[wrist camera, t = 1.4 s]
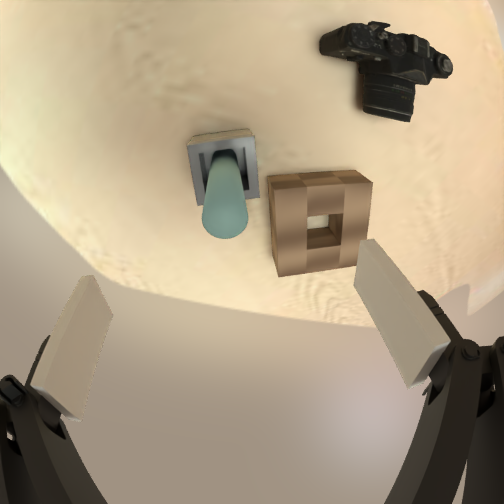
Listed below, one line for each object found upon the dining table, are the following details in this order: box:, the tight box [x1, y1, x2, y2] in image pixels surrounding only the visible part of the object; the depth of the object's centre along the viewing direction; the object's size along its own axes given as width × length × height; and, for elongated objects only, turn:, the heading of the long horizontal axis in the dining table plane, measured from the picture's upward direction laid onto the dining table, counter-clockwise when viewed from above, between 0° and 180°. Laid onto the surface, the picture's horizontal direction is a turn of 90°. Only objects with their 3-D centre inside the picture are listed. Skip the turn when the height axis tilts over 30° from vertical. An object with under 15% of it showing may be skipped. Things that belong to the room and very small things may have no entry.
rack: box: [268, 170, 373, 277], centre depth 35 cm, size 12×12×5 cm
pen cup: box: [187, 129, 260, 206], centre depth 29 cm, size 7×7×6 cm
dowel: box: [202, 149, 248, 239], centre depth 24 cm, size 3×3×16 cm
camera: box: [320, 21, 453, 122], centre depth 23 cm, size 14×11×10 cm
